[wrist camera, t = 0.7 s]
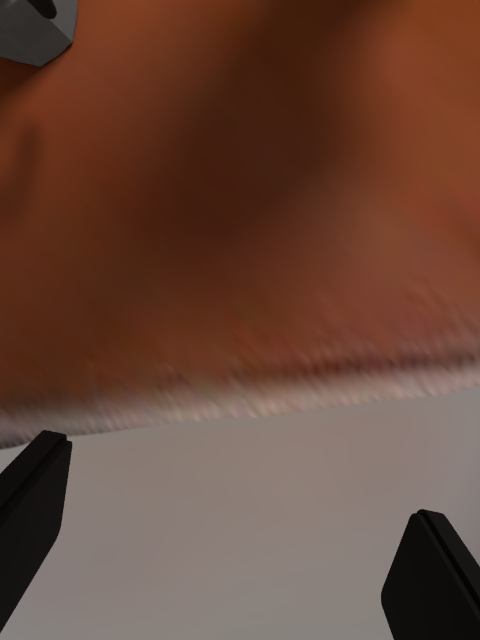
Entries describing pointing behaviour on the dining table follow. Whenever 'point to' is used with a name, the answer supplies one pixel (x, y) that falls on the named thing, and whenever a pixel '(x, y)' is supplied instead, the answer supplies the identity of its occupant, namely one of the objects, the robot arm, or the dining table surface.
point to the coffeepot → (36, 29)
